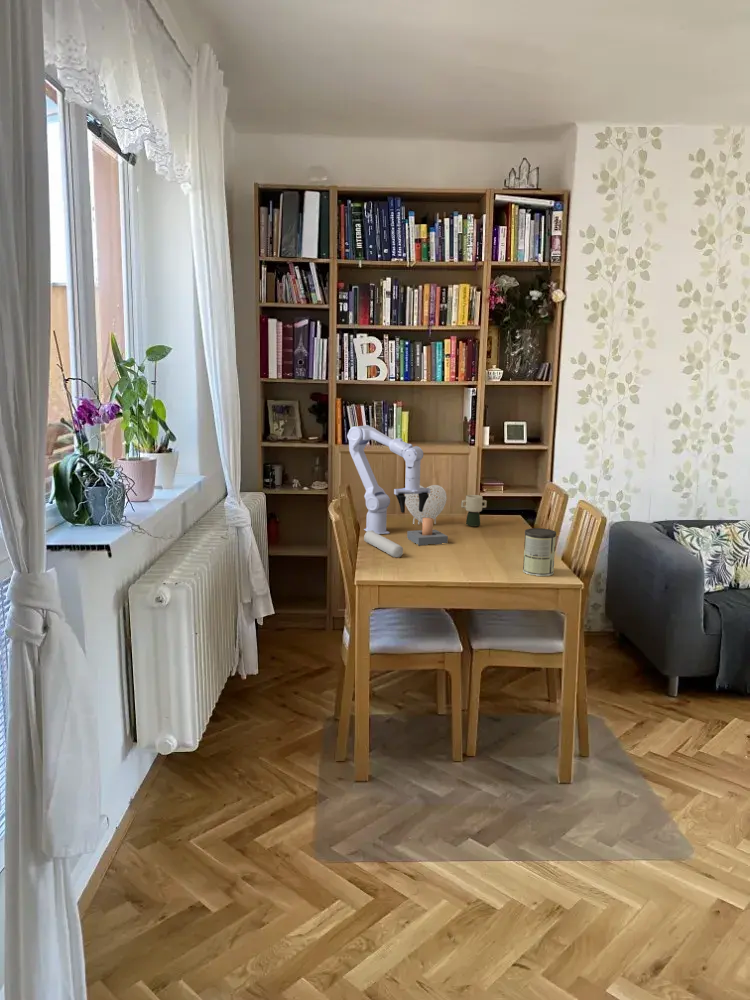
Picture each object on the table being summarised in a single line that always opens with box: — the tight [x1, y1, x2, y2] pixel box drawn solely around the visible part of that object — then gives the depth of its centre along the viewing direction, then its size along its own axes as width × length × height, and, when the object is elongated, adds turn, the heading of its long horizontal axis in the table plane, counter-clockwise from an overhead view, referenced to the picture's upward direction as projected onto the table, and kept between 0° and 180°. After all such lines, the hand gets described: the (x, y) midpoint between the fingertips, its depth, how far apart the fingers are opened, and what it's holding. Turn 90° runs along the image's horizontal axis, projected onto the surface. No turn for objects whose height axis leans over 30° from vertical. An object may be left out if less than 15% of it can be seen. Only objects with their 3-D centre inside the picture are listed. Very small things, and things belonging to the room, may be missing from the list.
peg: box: [421, 516, 434, 536], centre depth 298 cm, size 4×4×9 cm
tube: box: [363, 530, 404, 558], centre depth 283 cm, size 5×5×25 cm
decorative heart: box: [404, 484, 448, 525], centre depth 328 cm, size 18×11×17 cm, turn 95°
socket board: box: [406, 529, 449, 546], centre depth 299 cm, size 12×12×3 cm
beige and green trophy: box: [460, 494, 488, 527], centre depth 327 cm, size 11×7×13 cm, turn 96°
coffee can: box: [522, 527, 557, 577], centre depth 256 cm, size 10×10×14 cm
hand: (411, 511), depth 302 cm, fingers open, 7 cm apart
